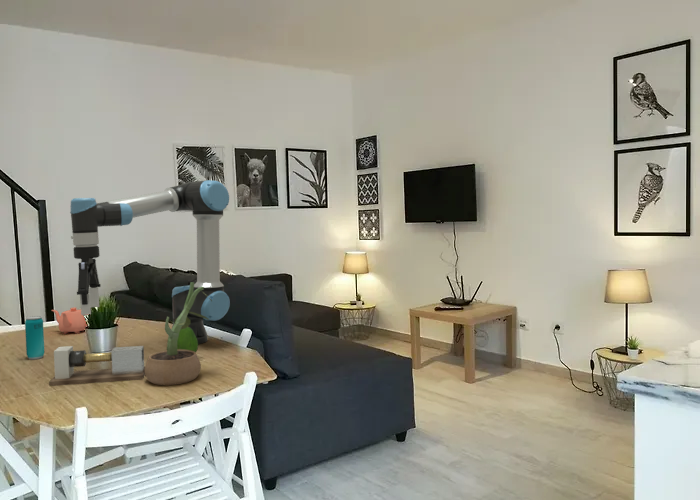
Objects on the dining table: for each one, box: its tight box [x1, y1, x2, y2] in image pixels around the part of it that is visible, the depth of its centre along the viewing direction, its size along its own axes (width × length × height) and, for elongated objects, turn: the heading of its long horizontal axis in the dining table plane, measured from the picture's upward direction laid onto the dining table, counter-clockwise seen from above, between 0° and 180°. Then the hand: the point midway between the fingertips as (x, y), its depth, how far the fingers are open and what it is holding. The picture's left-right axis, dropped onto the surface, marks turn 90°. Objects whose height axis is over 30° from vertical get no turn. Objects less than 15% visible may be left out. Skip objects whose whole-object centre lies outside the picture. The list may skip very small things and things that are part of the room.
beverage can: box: [24, 315, 45, 360], centre depth 206 cm, size 6×6×15 cm
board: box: [48, 366, 146, 386], centre depth 181 cm, size 27×11×1 cm, turn 103°
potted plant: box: [144, 281, 212, 386], centre depth 179 cm, size 22×18×30 cm
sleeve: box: [110, 345, 145, 375], centre depth 182 cm, size 9×5×8 cm, turn 103°
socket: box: [53, 345, 75, 379], centre depth 178 cm, size 4×6×10 cm, turn 13°
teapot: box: [51, 307, 87, 335], centre depth 253 cm, size 14×14×11 cm
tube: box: [69, 349, 112, 368], centre depth 180 cm, size 19×5×5 cm, turn 103°
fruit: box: [177, 327, 199, 353], centre depth 203 cm, size 8×8×12 cm
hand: (90, 310), depth 185 cm, fingers open, 13 cm apart
